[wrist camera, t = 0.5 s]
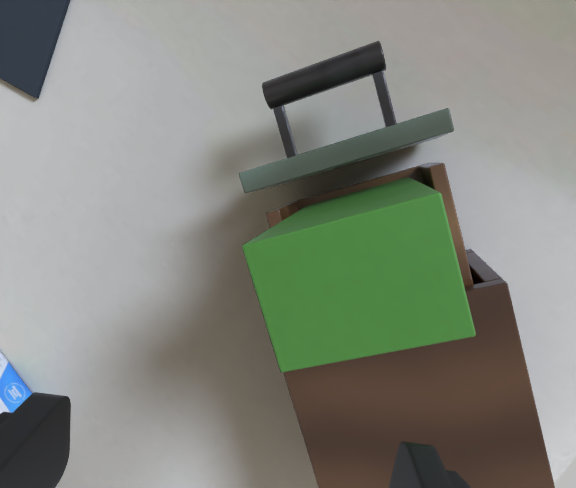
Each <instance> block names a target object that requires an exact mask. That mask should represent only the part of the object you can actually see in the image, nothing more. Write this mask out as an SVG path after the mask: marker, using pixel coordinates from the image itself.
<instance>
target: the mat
mask: <svg viewBox="0 0 576 488" xmlns="http://www.w3.org/2000/svg"><path fill="white" fill-rule="evenodd" d="M69 2H70V0H0V78H1V79H3V80H4V81H6V82H8V83H10V84H12V85H13V86H15V87H17V88H19V89H21V90H22V91H24V92H26V93H28V94H30V95H31V96H33V97H35V98H39V95H40V92H41V89H42V86H43V83H44V79H45V76H46V73H47V70H48V67H49V64H50V61H51V58H52V55H53V52H54V49H55V45H56V42H57V39H58V36H59V33H60V30H61V27H62V24H63V21H64V18H65V15H66V12H67V8H68V5H69Z"/></svg>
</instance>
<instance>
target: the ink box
mask: <svg viewBox="0 0 576 488" xmlns="http://www.w3.org/2000/svg"><path fill="white" fill-rule="evenodd" d="M31 394H32V393H31V391H30V390H29V389H28V387H27V386H26V385H25V383H24V382H23V381H22V379H21V378H20V377H19V376H18V374H17V373H16V372H15V370H14V369H13V368H12V366H11V365H10V363H9V362H8V361H7V359H6V358H5V357H4V355H3V354H2V353H1V351H0V414H1V413H2V412H10V413H13V412H14V411H15V410H16V409H17V408H18V407H19V406H20V405H21V404H22V403H23V402H24V401H25V400H26V399H27V398H28V397H29V396H30V395H31Z"/></svg>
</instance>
